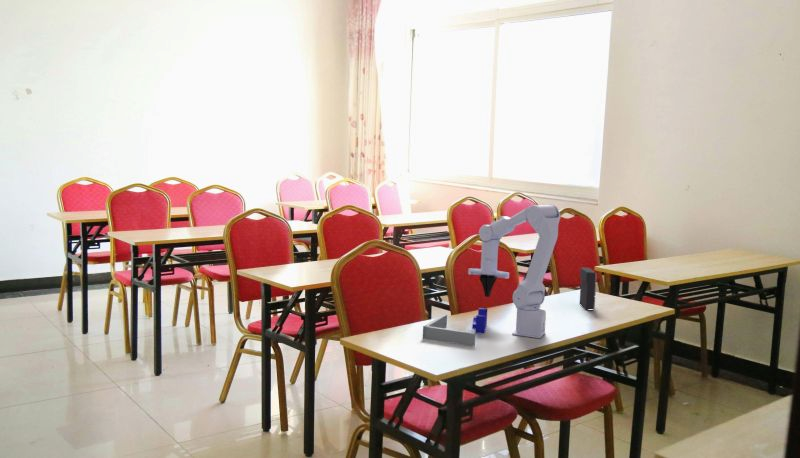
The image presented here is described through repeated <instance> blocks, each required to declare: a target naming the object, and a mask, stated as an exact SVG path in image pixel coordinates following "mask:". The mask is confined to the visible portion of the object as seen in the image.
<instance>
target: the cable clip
mask: <svg viewBox="0 0 800 458" xmlns="http://www.w3.org/2000/svg"><path fill="white" fill-rule="evenodd" d="M487 321H488V308H484V307H483V308H482V307H478V314H476V315H474V316H473V319H472V327H471V328H472V329H475V332H474V333H475V334H485V333H486V330H487V324H488V323H487Z"/></svg>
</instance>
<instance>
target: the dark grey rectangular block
mask: <svg viewBox="0 0 800 458" xmlns="http://www.w3.org/2000/svg"><path fill="white" fill-rule="evenodd" d="M579 278H580V289H579V290H580V293H579V305H580V304H581V305H582V306H583V307H584V308H585V309H593V310H595V308H596V307H595V306H596V294H597V283H596V282H597V272H596V271H594V270H593V269H592V268H590V267H580V271H579ZM581 305H580V306H581ZM582 306H581V307H582ZM583 307H582V308H583ZM584 308H583V309H584ZM585 309H584V310H585Z"/></svg>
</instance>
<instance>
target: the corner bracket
mask: <svg viewBox="0 0 800 458" xmlns="http://www.w3.org/2000/svg"><path fill="white" fill-rule="evenodd" d="M447 321H448V314H445V313H444V314H442V315H440V316H438V317H437V318H435V319H433V320H432V321H430V322H428V323H426V324H425V325H423V326H422V340H429V341H437V342H444V343H451V344H457V345H463V346H469V347H475V345H476V333H475V332H473V331H472V332H471V331H464V330H460V329H459V330H458V329H450V328H446V327H447V324H448V322H447Z"/></svg>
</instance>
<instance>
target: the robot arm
mask: <svg viewBox="0 0 800 458" xmlns="http://www.w3.org/2000/svg"><path fill="white" fill-rule="evenodd" d="M561 217H562V215H561V213H560V211H559V208H558V207H557V206H556V205H555V204H552V203H551V204H544V205H543V204H542V205H541V204H540V205H535V204H534V205H533V204H531V205H530V206H527V207H526V206H525V208H524V209H522V210H521V211H519V212H518V213H516V214H514V215H512V216H505V215H501V216H500V217H499V219H498V220H493V221H491V222H490V224H483V225H481V227H480V228H479V231H478V236H479V238H480V240H481V256H480V268H472V267H471V268H468V271H467V273H468V275H469V276H470V275H475V276H480V277H479V281H480V283H481V285H482V288H483V292H484V297H486V298H489V297H491V293H492V289H493V287H494V286H495V283H496V281H497V279H498V278H501V279H509V278H510V272H507V271H501V270H498V257H499V255H498V253H499V245H500V243H501V239H502V238H503V237H505V236H506V235H508V234H510V233H512V232H514V231H515V228H516V227H517V226H519V225H521V224H522V225H523V224H524V223H529V225H530V226H531V228H532V229H533V230H534V231H535V233H536V234H537V235H538V237H539V238H538V240H537V242H536V245H535V249H534V252H533V255H532V257H531V260H530V261H531V262H530V264H529V267H528V270H527V273H526V276H525V278H524V279H523V280H522V281H521V282H520V283H519V284H518V285H517V288H516V289H515V290H514V291H513V293H512V302H513V305H514V306H515V308H516V318H515V319H516V322H515V324H516V325H515V330H514V331H513V332H511V334H512V335H514V336H521V337H529V338H537V339H540V338H541V337H543V336H544V335H545V334H546V319H547V317H546V314H547V313H546V310H545V309H541V305H543V303H544V302H545V298H546V297H545V291H546V287H545V285H544V284H543V281H544V278H545V275H546V272H547V270H548V266H549V264H550V260H551V257H552V254H553V252H554V248H555V245H556V243H557V240H558V237H559V223H560V221H561Z"/></svg>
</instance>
